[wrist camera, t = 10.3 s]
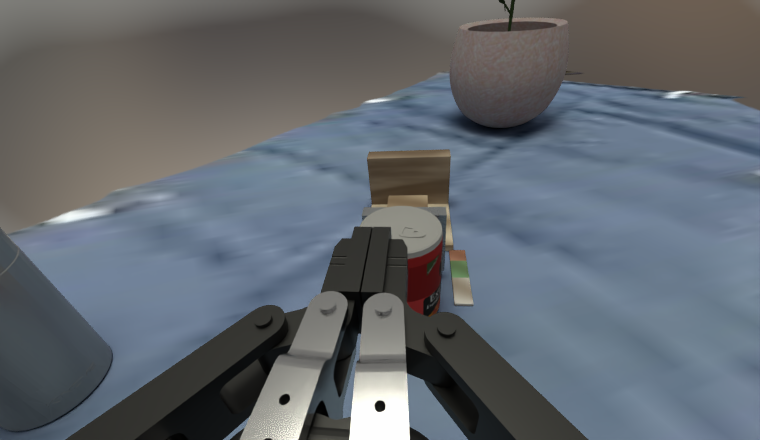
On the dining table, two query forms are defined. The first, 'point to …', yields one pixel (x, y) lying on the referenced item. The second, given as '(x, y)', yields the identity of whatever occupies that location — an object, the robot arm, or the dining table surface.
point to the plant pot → (508, 68)
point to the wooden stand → (419, 197)
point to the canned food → (416, 252)
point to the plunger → (436, 211)
